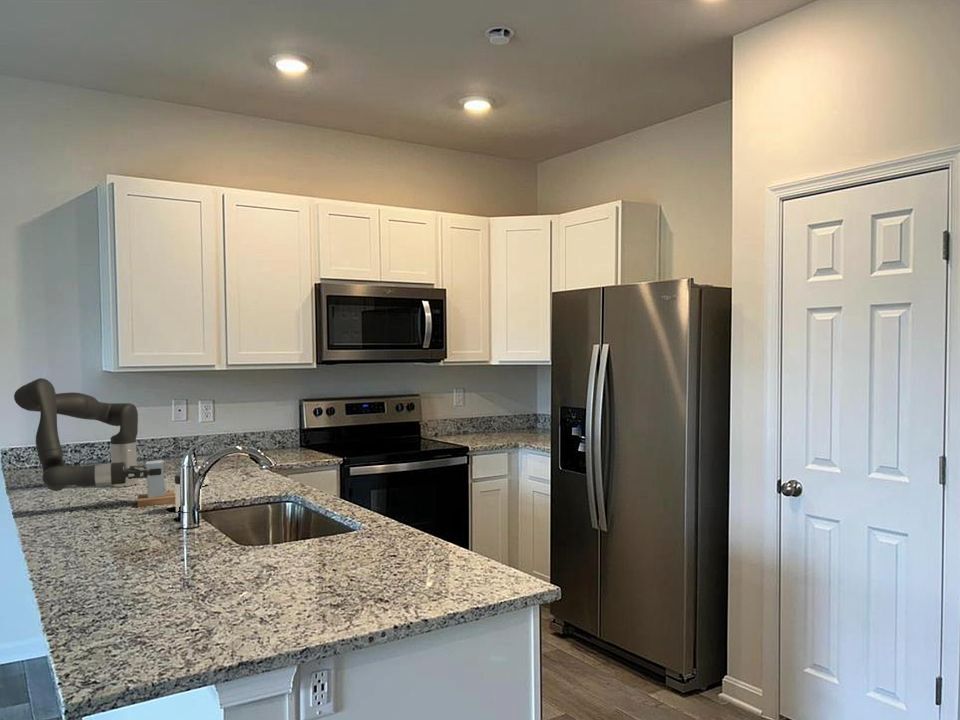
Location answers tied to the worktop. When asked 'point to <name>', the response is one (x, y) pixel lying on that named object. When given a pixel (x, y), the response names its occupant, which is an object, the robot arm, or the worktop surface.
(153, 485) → the pillar
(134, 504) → the worktop surface
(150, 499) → the slab
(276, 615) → the worktop surface
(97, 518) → the worktop surface
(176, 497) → the jar
